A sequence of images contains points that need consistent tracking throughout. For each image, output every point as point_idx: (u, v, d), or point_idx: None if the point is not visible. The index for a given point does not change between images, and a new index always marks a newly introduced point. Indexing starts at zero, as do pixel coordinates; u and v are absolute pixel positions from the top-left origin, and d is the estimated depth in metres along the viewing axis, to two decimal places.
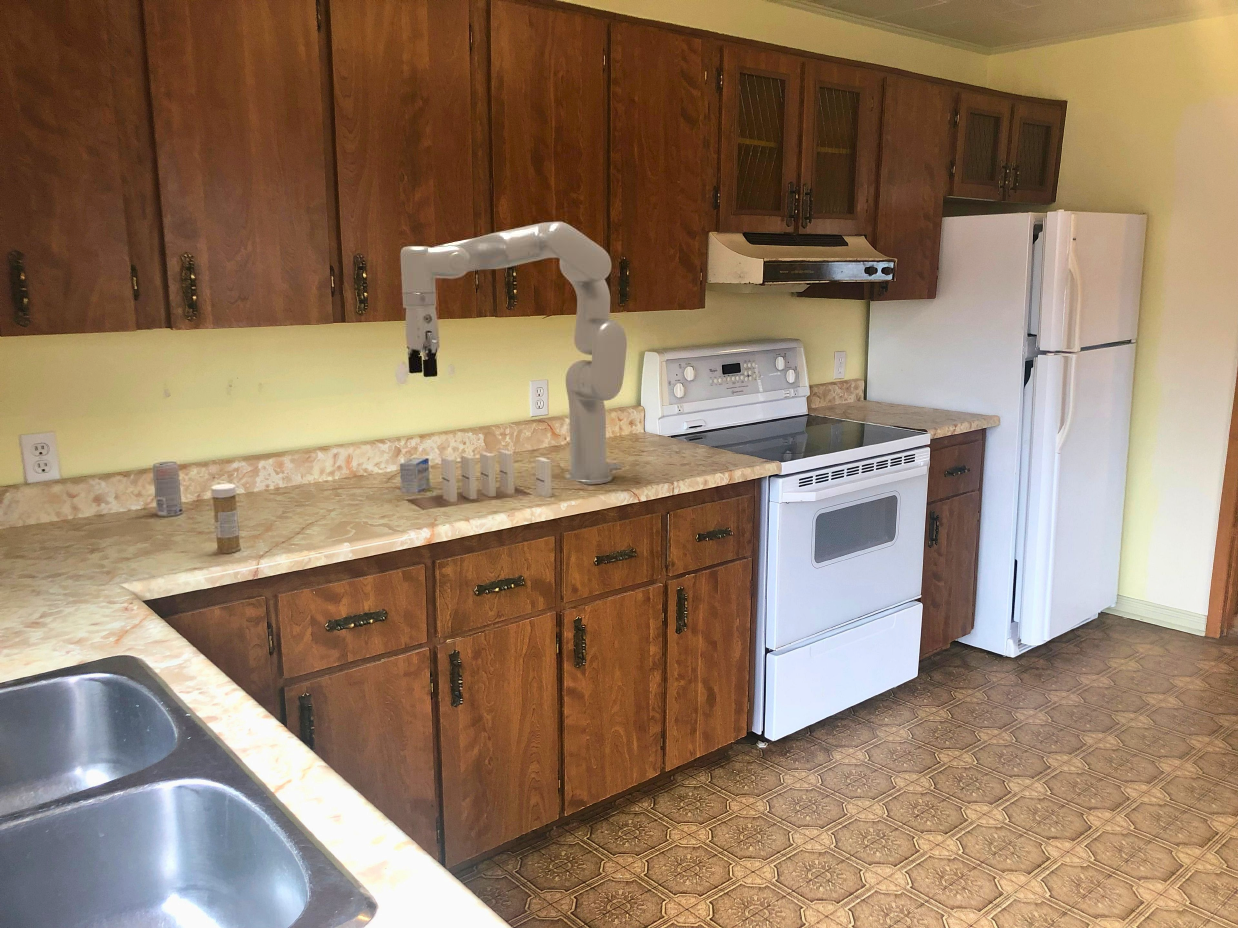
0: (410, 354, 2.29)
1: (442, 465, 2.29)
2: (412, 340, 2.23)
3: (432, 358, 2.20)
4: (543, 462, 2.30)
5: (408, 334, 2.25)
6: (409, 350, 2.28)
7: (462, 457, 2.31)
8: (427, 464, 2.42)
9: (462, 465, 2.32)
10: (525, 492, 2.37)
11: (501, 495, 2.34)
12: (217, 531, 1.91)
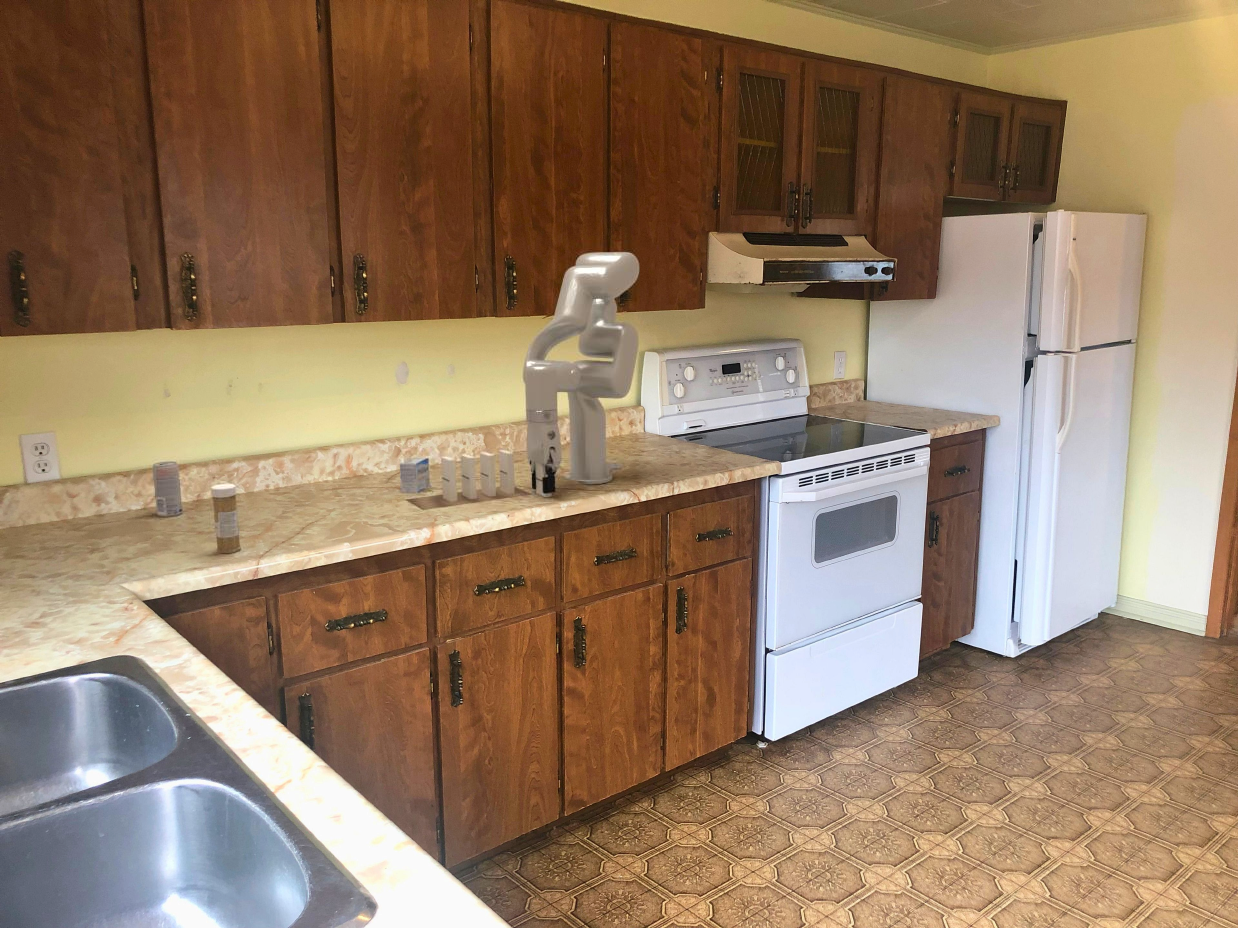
0: (533, 469, 2.35)
1: (442, 465, 2.29)
2: (535, 454, 2.30)
3: (551, 476, 2.30)
4: None
5: (530, 447, 2.32)
6: (533, 467, 2.34)
7: (462, 457, 2.31)
8: (427, 464, 2.42)
9: (462, 465, 2.32)
10: (525, 492, 2.37)
11: (501, 495, 2.34)
12: (217, 531, 1.91)
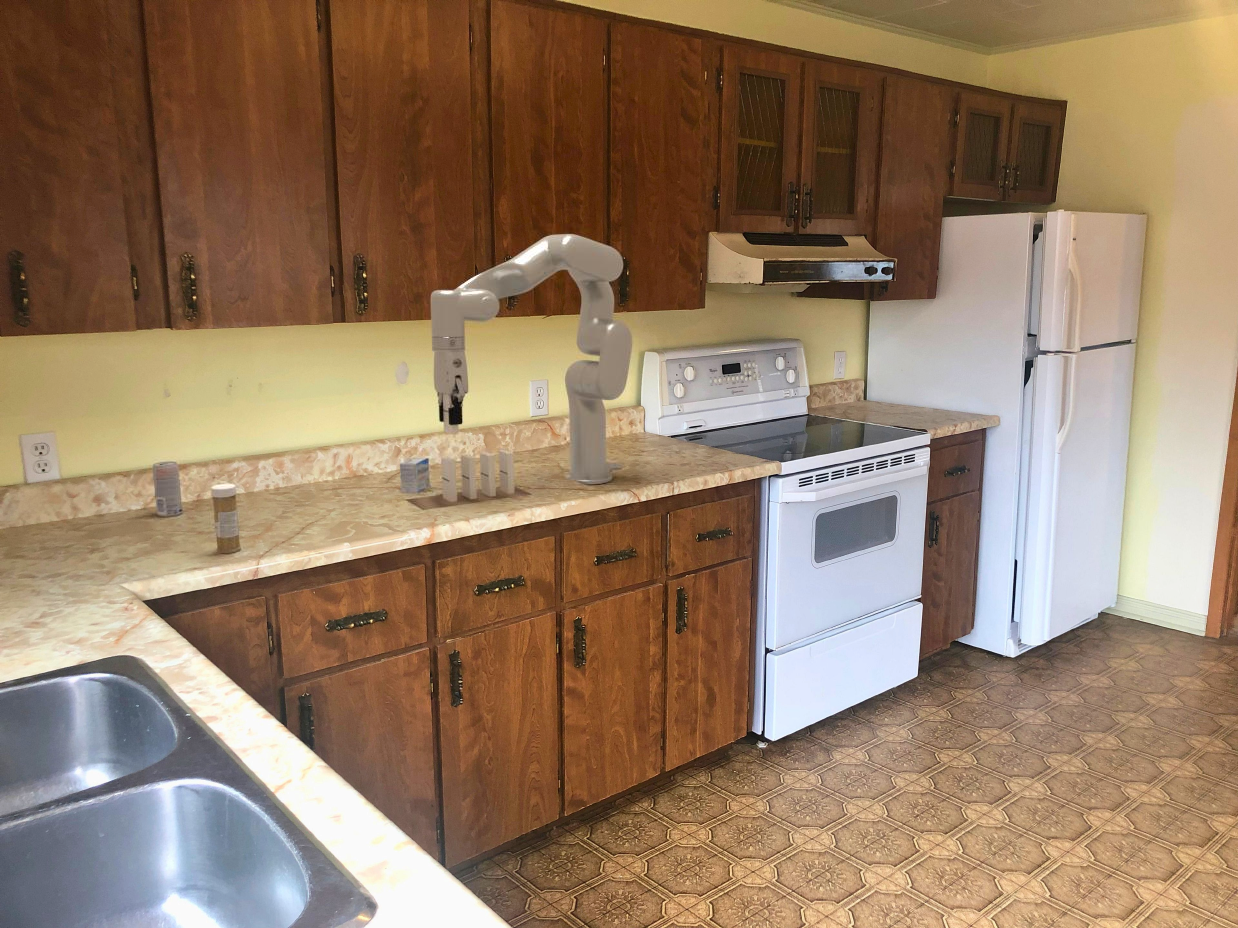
0: (441, 401, 2.26)
1: (442, 465, 2.29)
2: (441, 384, 2.21)
3: (458, 406, 2.21)
4: None
5: (436, 377, 2.23)
6: (440, 398, 2.25)
7: (462, 457, 2.31)
8: (427, 464, 2.42)
9: (462, 465, 2.32)
10: (525, 492, 2.37)
11: (501, 495, 2.34)
12: (217, 531, 1.91)
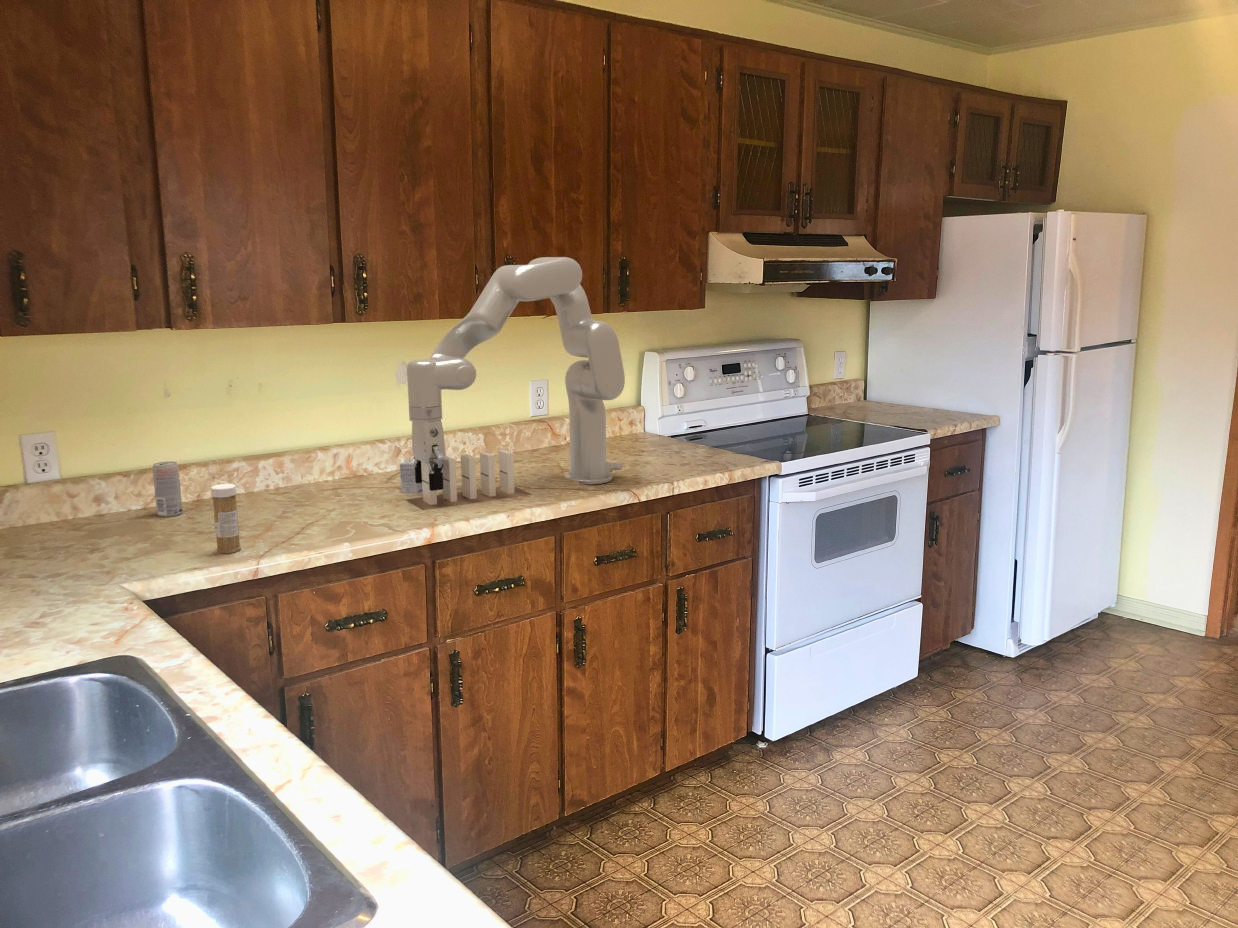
0: (416, 464, 2.29)
1: None
2: (419, 452, 2.23)
3: (438, 472, 2.21)
4: (427, 464, 2.24)
5: (414, 445, 2.25)
6: (415, 460, 2.29)
7: (462, 457, 2.31)
8: None
9: (462, 465, 2.32)
10: (525, 492, 2.37)
11: (501, 495, 2.34)
12: (217, 531, 1.91)
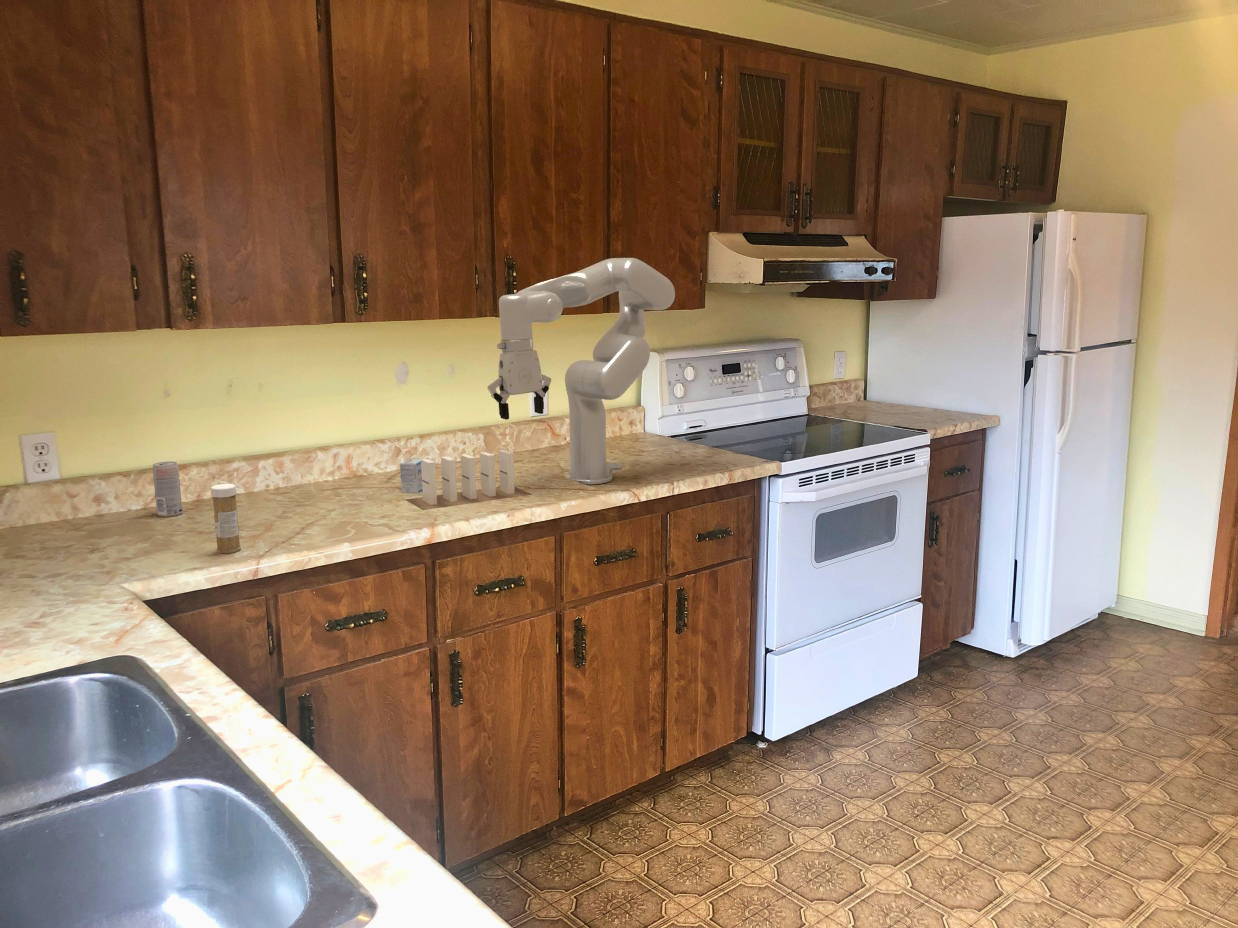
0: (535, 394, 2.39)
1: (442, 465, 2.29)
2: None
3: (499, 402, 2.32)
4: (427, 464, 2.24)
5: None
6: None
7: (462, 457, 2.31)
8: None
9: (462, 465, 2.32)
10: (525, 492, 2.37)
11: (501, 495, 2.34)
12: (217, 531, 1.91)
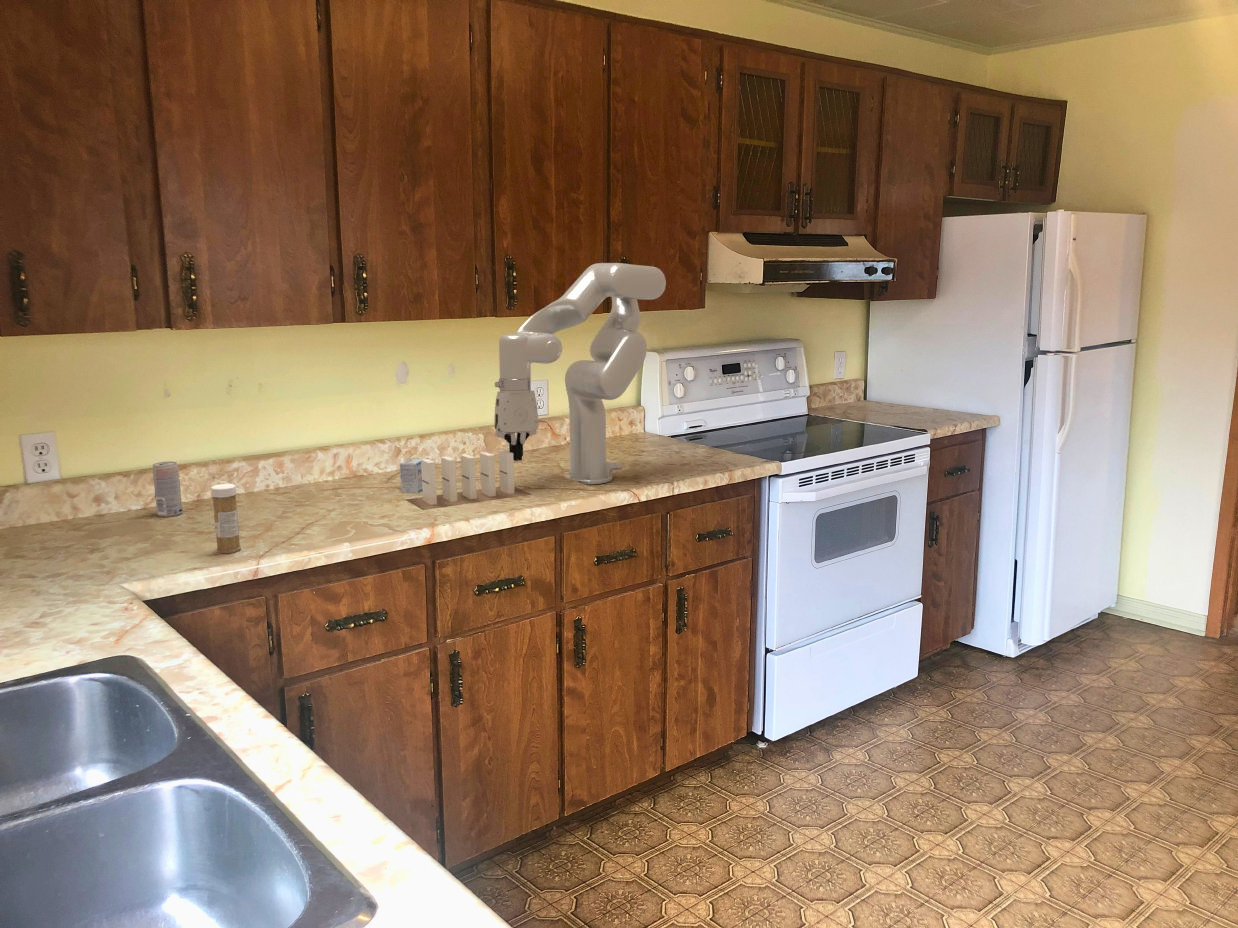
0: (516, 438, 2.38)
1: (442, 465, 2.29)
2: None
3: (510, 443, 2.36)
4: (427, 464, 2.24)
5: None
6: None
7: (462, 457, 2.31)
8: None
9: (462, 465, 2.32)
10: (525, 492, 2.37)
11: (501, 495, 2.34)
12: (217, 531, 1.91)
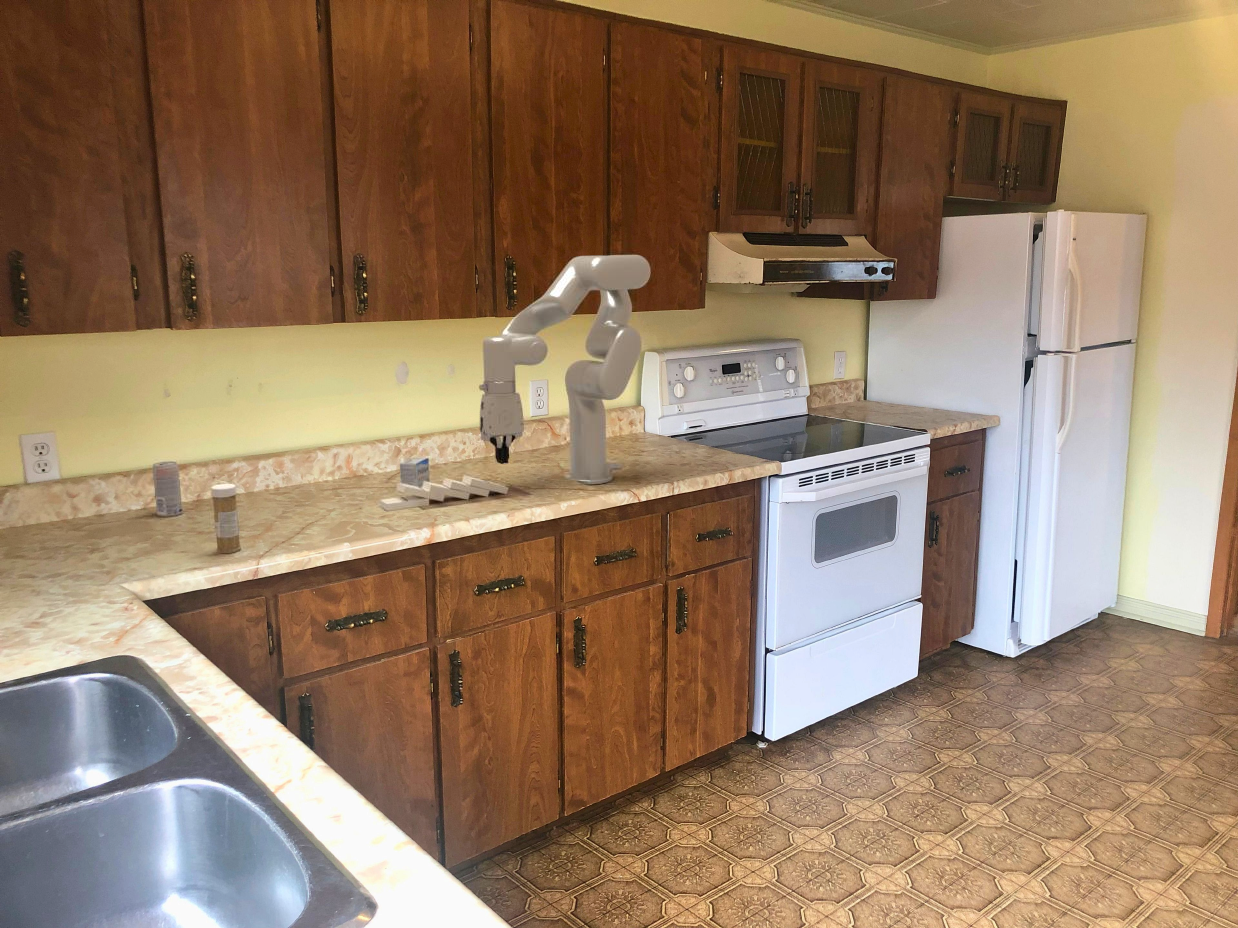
0: (502, 441, 2.36)
1: None
2: None
3: (495, 446, 2.34)
4: None
5: None
6: None
7: (425, 488, 2.28)
8: (427, 464, 2.42)
9: None
10: (525, 492, 2.37)
11: (501, 495, 2.34)
12: (217, 531, 1.91)
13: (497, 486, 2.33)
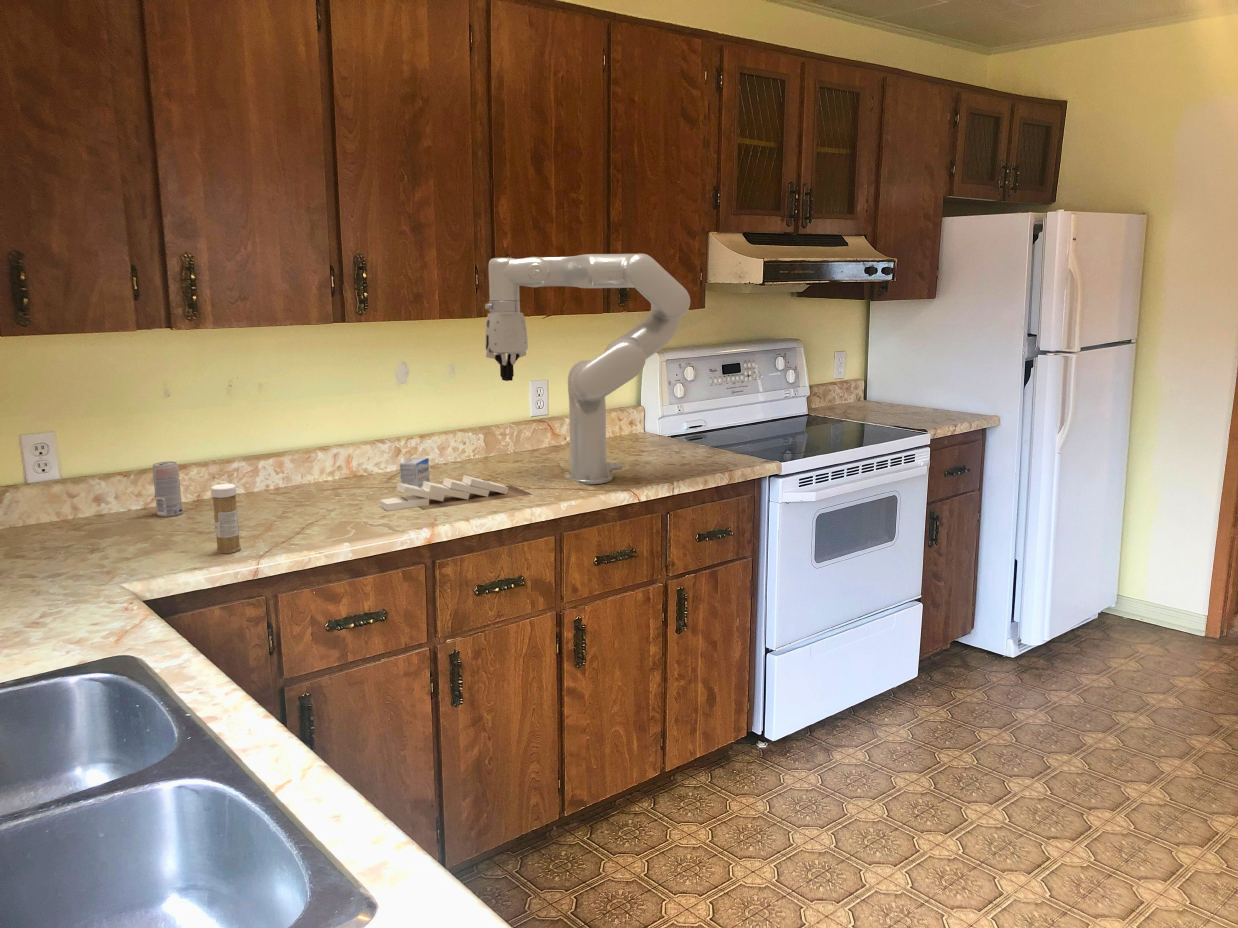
0: (507, 360, 2.47)
1: None
2: None
3: (500, 364, 2.45)
4: None
5: None
6: None
7: (425, 488, 2.28)
8: (427, 464, 2.42)
9: None
10: (525, 492, 2.37)
11: (501, 495, 2.34)
12: (217, 531, 1.91)
13: (497, 486, 2.33)
